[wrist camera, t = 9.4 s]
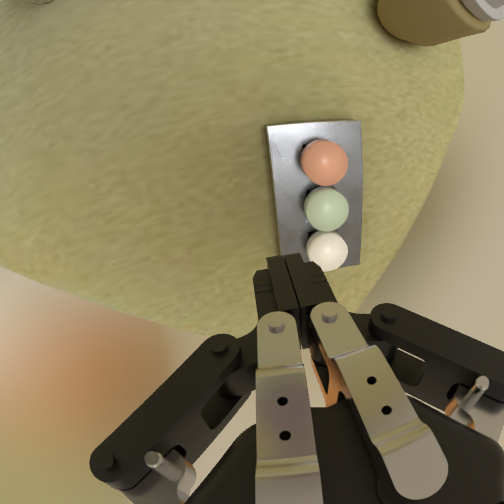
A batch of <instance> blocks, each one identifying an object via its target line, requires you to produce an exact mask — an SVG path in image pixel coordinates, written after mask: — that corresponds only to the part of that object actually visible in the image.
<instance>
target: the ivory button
mask: <svg viewBox="0 0 504 504" xmlns="http://www.w3.org/2000/svg"><path fill="white" fill-rule="evenodd" d="M306 252H307V255H308V257H309V260H310V261H313V262H315V263H316V264H317V265H319V266H320V267H321V269H322V271H332V270H334V269H336V268H338V267H340V266H341V265H342V264H343V263H344V261H345V260H346V257H347V254H348V248H347V245H346V243H345V241H344V240H343V239H342V237H341V236H340V235H339V233H337V232H336V231H334V230H333V231H329V232H324V231H320V230H318V231H311V233H310V235H309V240H308V242H307V245H306Z"/></svg>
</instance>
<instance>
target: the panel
mask: <svg viewBox="0 0 504 504" xmlns="http://www.w3.org/2000/svg"><path fill="white" fill-rule="evenodd" d="M265 132H266V140H267V148H268V156H269V165H270V173H271V182H272V191H273V200H274V209H275V219H276V228H277V238H278V248H279V256H280V255H282V256H283V255H285V254H291V253H297V252H300V254H301V256H302V259H303V261H304V263H305V262H310V260H309V257H308V255H307V252H306V245H307V242H308V240H309V239H308V232H311V231H318V230H317V229H316V228H314V227H313V226H312V225H311V223H310V222H309V220H308V218H307V217H306V215H305V212H304V202H305V199H306V190H311V189H315V188H318V187H321V185H318V184H316V183H314V182H313V181H311V180H310V179H309V178H308V176H307V175H306V174H305V173H304V172H303V170H302V168H301V163H300V158H301V154H302V151H303V148H302V144H309V143H310V142H312V141H314V140H318V139H325V140H329V141H331V142H333V143H336V144H337V145H339V146H340V147H341V148H342V149H343V150H344V151H345V153H346V155H347V158H348V168H347V171H346V174H345V175H344V177H343V178H342V179H341V180H340V181H339V182H337V183H336V184H333V185H330V186H329V187H332V188H334V189H336V190H337V191H338V192H339V193H340V194H341V195H343V196H344V197H345V199H346V200H347V203H348V206H349V213H348V216H347V219H346V221H345V222H344V223H343V224H342V225H341V226H340V227H339V228H337V229H335V230H334V231H336V232H337V233H339V235H340V236H341V237H342V239H343V240H344V241H345V243H346V245H347V248H348V254H347V257H346V260H345V261H344V263H343V264H342V265H341V266H340V267H346V266H352V265H358V264H359V263H360V249H361V229H362V139H361V121H359V120H353V119H336V120H315V121H300V122H288V123H277V124H268V125H265ZM340 267H338V268H340Z"/></svg>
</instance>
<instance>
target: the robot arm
mask: <svg viewBox="0 0 504 504" xmlns="http://www.w3.org/2000/svg"><path fill="white" fill-rule="evenodd" d="M26 1H29V2H32V3H36V4H44V3H47V2H50V1H52V0H26ZM266 260H267V268H268V269H264V270H258V271H256V273H255V275H254V277H253V284H254V291H255V298H256V306H257V313H258V323H257V326H256V327H255V328H254V330H253V331H251V332H250V333H249V334H247V335H245V336H243V337H240V338H238V339H236V338H235V337H234V336H232V335H229V334H217V335H214V336H211V337H209V338H208V339H207V340H206V341H204V342H203V344H201V345H200V346H199V347H198V349H197V350H196V351H195V352H194V353H193V354H192V355H191V356H190V357H189V358H188V359H187V360H186V361H185V362H184V363H183V364H182V365H181V366H180V367H179V368H178V369H177V370H176V371H175V372H174V373H173V374H172V375H171V376H170V377H169V378H168V379H167V380H166V381H165V382H164V383H163V384H162V385H161V386H160V387H159V388H158V389H157V390H156V391H155V392H154V393H153V394H152V395H151V396H150V397H149V398H148V399H147V400H146V401H145V402H144V403H143V404H142V405H141V406H140V407H139V408H138V409H137V410H135V411H134V412H133V413H132V414H131V415H130V416H129V417H128V418H127V419H126V420H125V421H124V422H123V423H122V424H121V425H120V426H119V427H118V428H117V429H116V430H115V431H114V432H113V433H112V434H111V435H110V436H108V438H106V439H105V440H104V441H103V442H102V443H101V444H100V445H99V446H98V447H97V448H96V449H95V450H94V451H93V453H92V455H91V457H90V462H89V463H90V469H91V471H92V473H93V475H94V476H95V477H96V478H97V479H99V480H100V481H102V482H104V483H106V484H108V485H110V486H111V487H112V488H114V489H116V490H118V491H120V492H122V493H124V494H125V495H126V496H127V497H128V498H129V499H130V500H131V501H132V502H133V503H134V504H504V451H503V449H502V447H501V446H500V445H499V444H498V443H497V442H498V439H499V436H500V433H501V431H502V428H503V425H504V352H503V351H501V350H499V349H496V348H494V347H492V346H490V345H487V344H485V343H482V342H480V341H478V340H476V339H473V338H471V337H469V336H467V335H464V334H462V333H460V332H458V331H455V330H453V329H451V328H448V327H446V326H444V325H441V324H439V323H437V322H434V321H432V320H430V319H428V318H425V317H423V316H420V315H418V314H416V313H414V312H411V311H409V310H407V309H404V308H402V307H400V306H397V305H395V304H390V303H384V304H379V305H377V306H376V307H374V308H373V309H372V311H371V314H355V313H351V312H348V311H347V309H346V308H345V307H344V306H343V305H341V304H339V303H338V302H337V300H336V298H335V296H334V294H333V292H332V290H331V287H330V285H329V283H328V281H327V279H326V277H325V275H324V273H323V271H322V269H321V267H320V266H319V265H317V264H316V263H315V262H313V261H310V262H305V263H304V261H303V259H302V256H301V254H300V252H297V253H291V254H285V255H283V256H282V255H280V256H274V257H268V258H266ZM301 345H302V348H303V349H305V348H309V349H310V353H311V364H312V367H313V370H314V372H315V375H316V378H317V380H318V383H319V385H320V388H321V391H322V393H323V396H324V399H325V403H326V407H324V408H322V407H321V408H319V407H315V408H314V407H310V401H309V394H308V388H307V381H306V374H305V368H304V364H303V363H302V357H301V351H300V350H301ZM398 348H400V349H402V350H404V351H406V352H408V353H411V354H413V355H415V356H417V357H419V358H421V359H423V360H424V361H425V362H423V361H421V360H419V359H417V358H415V357H413V356H411V355H409V354H407V353H405V352H403V351H400V350H398ZM253 390H256V424H254V425H252V426H251V427H249V428H248V429H246V430H245V431H244V432H243V433H241V435H239V436H238V437H237V438H236V440H235V441H234V442H233V443H232V445H231V446H230V447H229V449H228V450H227V451H226V453H225V454H224V455H223V457H222V458H221V459H220V460H219V462H218V463H217V464H216V465H215V467H214V468H213V469H212V471H211V472H210V473H209V474H208V475H207V477H206V478H205V479H204V480H203V482H202V483H201V484H200V486H198V488H197V489H196V490H195V491H194V492H193V493H192V495H191V496H190V497H189V492H190V490H191V488H192V486H193V485H194V483H195V481H196V471H195V469H194V467H193V465H192V464H193V463H194V462H195V461H196V460H197V459H198V458H199V457H200V455H201V454H202V453H203V452H204V451H205V450H206V449H207V448H208V446H209V445H210V444H211V443H212V442H213V441H214V439H215V438H216V437H217V436H218V434H219V433H220V432H221V431H222V430H223V429H224V427H225V426H226V425H227V424H228V423H229V421H230V420H231V419H232V418H233V416H234V415H235V414H236V413H237V411H238V410H239V409H240V407H241V406H242V405H243V404H244V402H245V401H246V400H247V399H248V397H249V395H250V394H251V391H253ZM405 392H406V393H408V394H410V395H412V396H414V397H416V398H418V399H420V400H422V401H424V402H426V403H428V404H430V405H432V406H434V407H436V408H438V409H441V410H442V411H444V412H445V414H446V415H445V414H443V413H441V412H439V411H437V410H435V409H433V408H431V407H430V406H428V405H426V404H424V403H422V402H420V401H418V400H417V399H415V398H413V397H410V396H408V395H406V394H405Z"/></svg>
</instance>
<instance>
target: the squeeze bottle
mask: <svg viewBox="0 0 504 504" xmlns="http://www.w3.org/2000/svg"><path fill="white" fill-rule="evenodd" d="M377 15H378V18H379V20H380V22H381V24H382V25H383V26H384V28H385V29H386V30H387V31H388V32H389V33H390V34H392V35H393V36H395V37H396V38H399V39H402V40H405V41H409V42H412V43H415V44H419V45H422V46H433V45H438V44H441V43H444V42H448V41H451V40H455V39H458V38H462V37H466V36H470V35H474V34H478V33H482V32H485V31H486V30H487V29H488V28H489V27H490V23H491V21H496V20H501V19H502V18H503V17H504V0H379V2H378V5H377Z"/></svg>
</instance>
